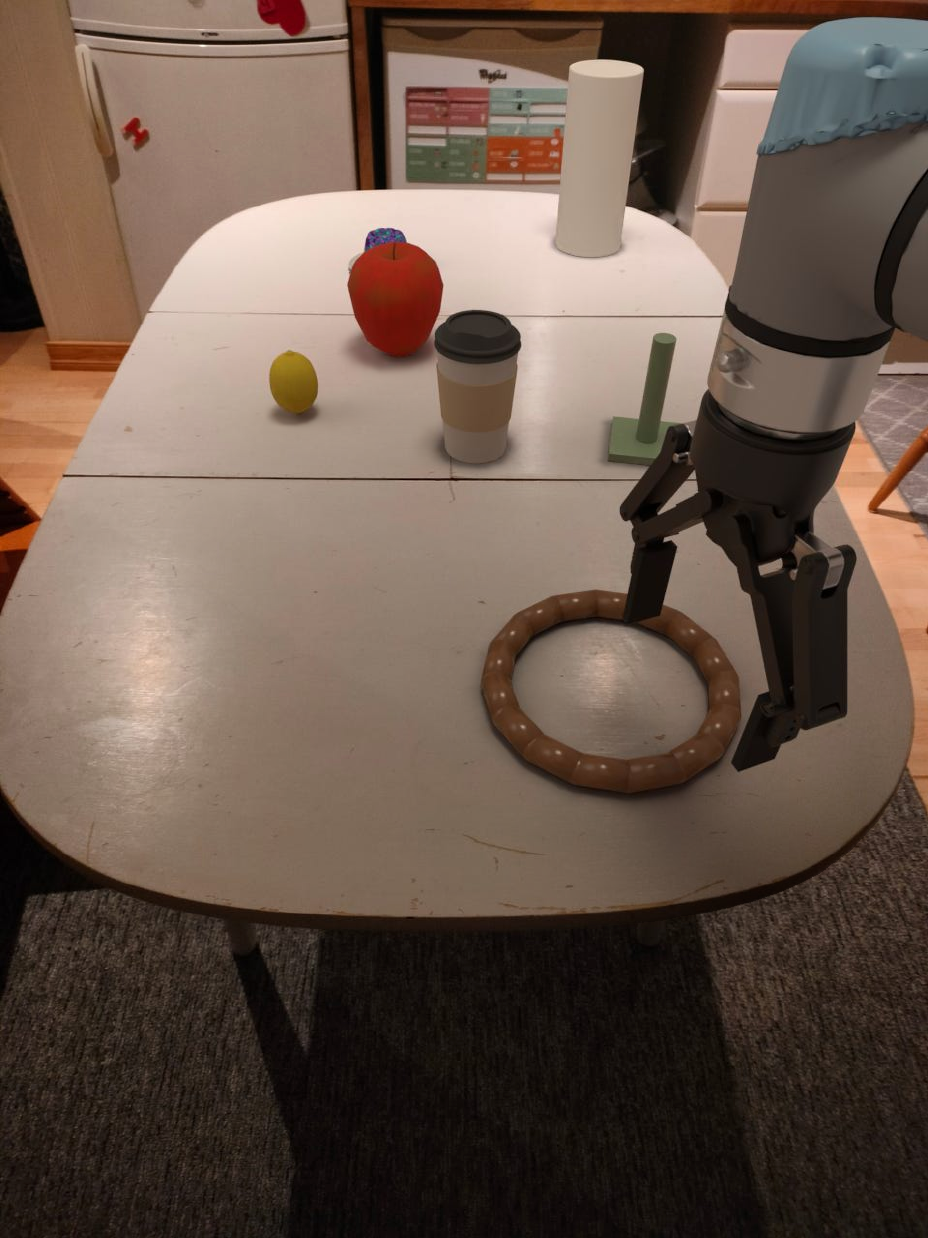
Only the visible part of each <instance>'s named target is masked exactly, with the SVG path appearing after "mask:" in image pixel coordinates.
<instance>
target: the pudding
mask: <svg viewBox="0 0 928 1238" xmlns="http://www.w3.org/2000/svg"><path fill="white" fill-rule="evenodd" d="M391 242H405V243H408V241H407V238H406V236H405V234H404V232H403V231H402V230H400V229H395V228H393V227H385V228H384V227H380V228H376V229H373V230H370V231H369V232H368V233H367V235H366V237H365V240H364V248H363V252H361V253H358V254H356V255H354V256H353V257H352V258H351V259H349V261H348V264H347V265H348V268H349V269H350V271H351V268H352V266H353V264H354V263H355V261H356V260H357V259H358V258H359V257H360V256H361V255H362V254H363V253H364V252H365V251H367V250H369V249H371V248H373V247H375V246H378V245H381V244H385V243H391Z"/></svg>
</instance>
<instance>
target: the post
mask: <svg viewBox="0 0 928 1238" xmlns="http://www.w3.org/2000/svg"><path fill="white" fill-rule="evenodd" d="M676 345H677V336H675V335H674V334H672V333H668V332H657V333H655V334H653V336H652V341H651V346H650V352H649V359H648V365H647V368H646V369H647V370H646V375H645V382H644V387H643V393H642V397H641V398H642V399H641V404H640V410H639V416H638V418H635V417H634V418H633V417H623V416H614V415H612V418H611V419H612V420H611V426H610V427H611V429H610V435H609V436H610V438H609V446H608V447H609V448H608V455H607V461H608V462H615V463H624V464H632V465H633V464H634V465H642V466H650V465H651V464H652V463H653V461H654V460H655V459H656V457H657V456H658V455H659V453H660V452H661V448H662V445H663V442H664V438H665V435H666V432H667V429H668V427H670V426H673V425H677V424H682V423H683V422H675V421H673V422H672V421H663V420H662V417H663V416H662V415H663V411H664V405H665V400H666V396H667V390H668V384H669V381H670V376H671V375H670V374H671V370H672V365H673V361H674V354H675V349H676Z"/></svg>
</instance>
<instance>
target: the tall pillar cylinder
mask: <svg viewBox="0 0 928 1238" xmlns="http://www.w3.org/2000/svg"><path fill="white" fill-rule="evenodd" d="M568 68H569V69H568V81H567V93H566V105H565V117H564V129H563V130H564V131H563V142H562V154H561V167H560V177H559V191H558V202H557V203H558V204H557V216H556V228H555V241H554V243H555V244H554V245H555V247H556V249H558V250H559V251H561V252H562V253H565V254H568V255H571V256H575V257H580V258H603V257H607V256H611V255H613V254H616V253H617V252H618V251H620V249H621V242H622V236H623V227H624V221H625V215H626V207H627V206H626V205H627V199H628V191H629V183H630V176H631V170H632V169H631V168H632V163H633V162H632V161H633V156H634V155H633V153H634V147H635V139H636V133H637V124H638V116H639V110H640V109H639V108H640V102H641V96H642V95H641V94H642V87H643V82H644V81H643V80H644V72H645V70H644V68H643V67H642V66H641V65H639V64H637V63H633V62H629V61H624V60H616V59H586V60H580V61H577V62H574V63H572V64H570V66H569V67H568Z"/></svg>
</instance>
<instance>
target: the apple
mask: <svg viewBox="0 0 928 1238" xmlns="http://www.w3.org/2000/svg"><path fill="white" fill-rule="evenodd" d="M363 252H364V251H363ZM363 252H362V253H363ZM346 285H347V291H348V294H349V299H350V303H351V308H352V313H353V316H354V319H355V321H356V323H357V324H358V327H359V329H360V330H361V332H362V334H363V336H364V339H365V340H366V342H367V343H368V344H370V345H371V346H372V347H373V348H375V349H377V350H378V351H380V352H382V353H384V354H386V355H389V356H392V357H396V358H403V357H408V356H411V355H412V354H414V353H416V351H418V350H419V349H420V348H421V347H422V346H423V345H424V344H426V342H427V341H428V339H429V338H430V336H431V333H432V331H433V329H434V326H435V324H436V322H437V320H438V317H439V315H440V313H441V306H442V300H443V292H444V282H443V279H442V276H441V271H440V269H439V266H438V263H437V261H435V259H434V258H433V257H431V255H430V254H428V253H427V252H426V251H425V250H424V249H423V248H421V247H420V246H418V245H416V244H412V243H410V242H407V243H405V242H391V243H385V244H381V245H378V246H375V247H373V248H371V249H369V250H367V251H365V252H364V253H363V254H362V255H361V256H360V257H359V258H358V259H357V260H356V261H355V263H354V264H353V266H352V268H351V270H350V272H349V276H348V280H347V284H346Z"/></svg>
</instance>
